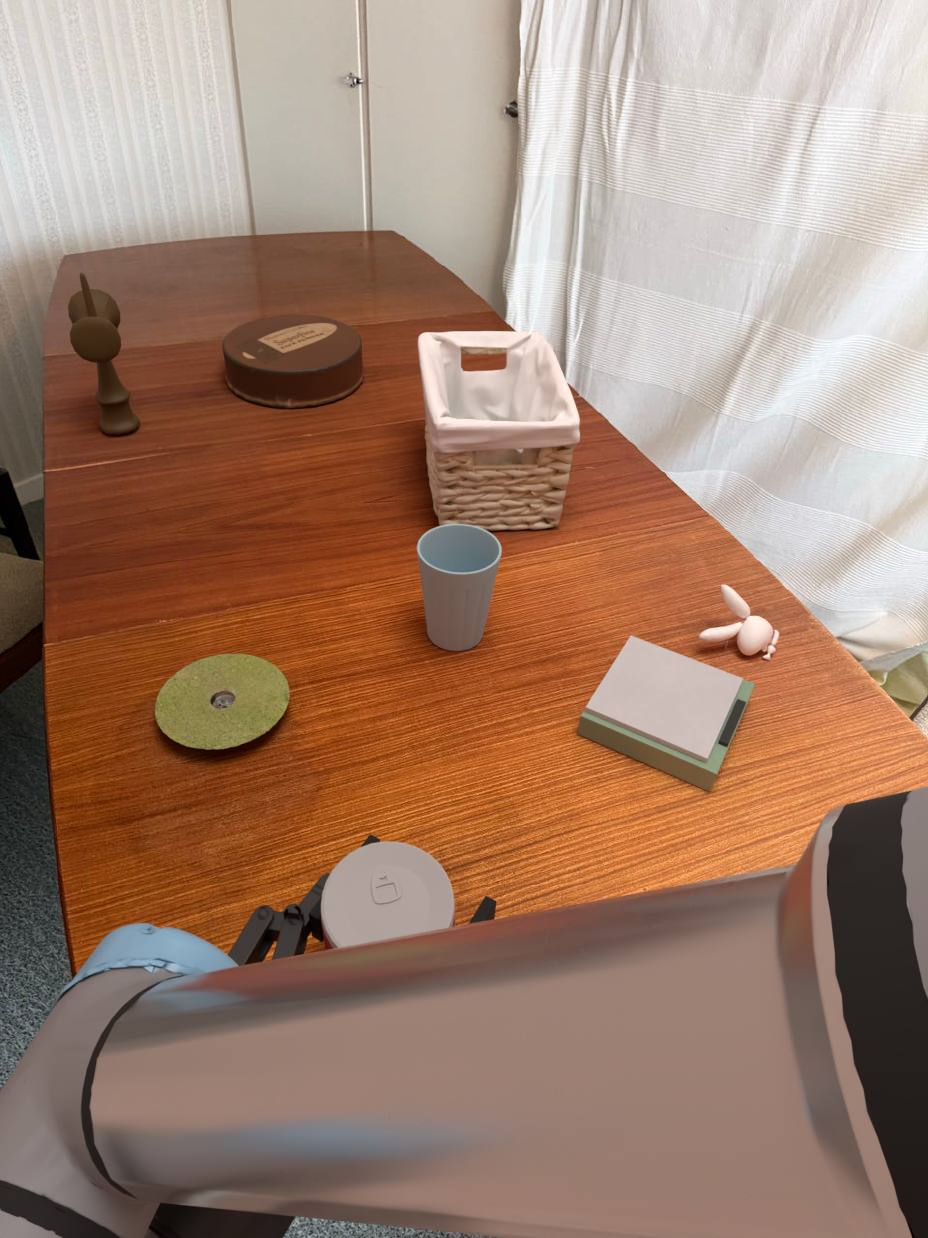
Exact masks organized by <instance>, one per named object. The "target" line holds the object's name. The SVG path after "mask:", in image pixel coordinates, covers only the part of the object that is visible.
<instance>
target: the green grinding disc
mask: <svg viewBox="0 0 928 1238" xmlns="http://www.w3.org/2000/svg"><path fill="white" fill-rule="evenodd" d="M290 693H291V692H290V686H289V684H288V680H287V678H286V677H285V674H284V673H283V672H282V671H281V669H279V668H278V666H276V665H274V663H272V662H269V661H268V660H267V659H264V658H262V657H259V656H256V655H252V654H246V653H221V654H216V655H211V656H206V657H205V658H200V659H198V660H197V661H196V660H195V661H193V662H192V663H189V664H187V665H186V666H184V667H183V668H181V669H179V670H178V671H176V672H175V674H173V675H172V676H171V677H170V678H169V679H167V680H166V682H165V683H164V685H162V687H161V688H160V691H159V692H158V694H157V697H156V700H155V705H154V714H155V719H156V723H157V726H158V727H159V728H160V730H161V731H162V732H163V733H164V734H165V735H166V736H167V737H168V738H170V739H171V740H173V741H174V742H176V743H178V744H180V745H182V746H185V747H188V748H193V749H200V750H201V749H203V750H209V751H210V750H224V749H229V748H234V747H236V748H237V747H238V746H240V745H242V744H246V743H249V742H251V741H253V740H256V739H257V738H259V737H261V736H262V735H265V734H266V733H267V732H269V731H270V730H271V729H272V728H273V727H274V726H276V725H277V723H278V722H279V720H280V719H281V718H282V717H283V716H284V714H285V712H286V710H287V708H288V705H289V702H290V698H291V696H290Z"/></svg>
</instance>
